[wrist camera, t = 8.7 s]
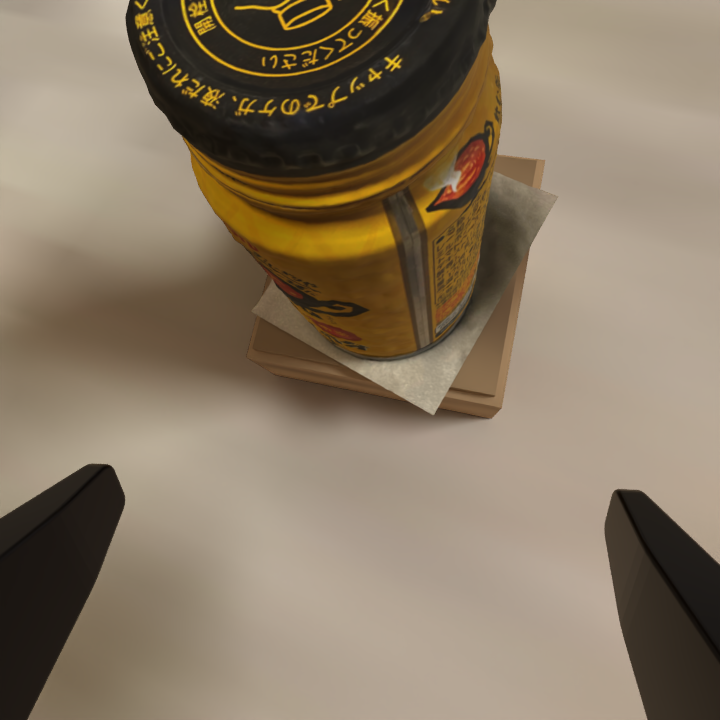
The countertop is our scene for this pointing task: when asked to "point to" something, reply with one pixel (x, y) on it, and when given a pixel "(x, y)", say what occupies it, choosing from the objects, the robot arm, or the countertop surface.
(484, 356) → the base block
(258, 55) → the condiment
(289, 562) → the countertop surface
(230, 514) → the countertop surface
